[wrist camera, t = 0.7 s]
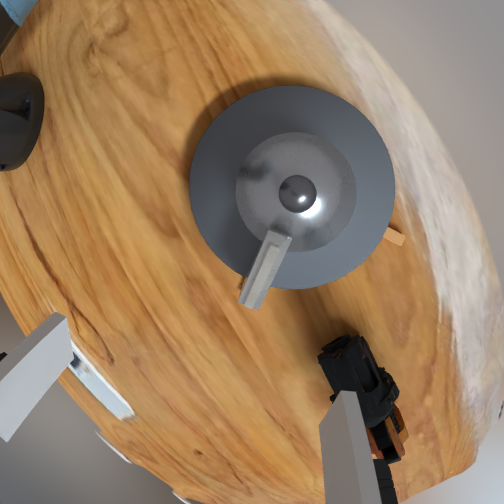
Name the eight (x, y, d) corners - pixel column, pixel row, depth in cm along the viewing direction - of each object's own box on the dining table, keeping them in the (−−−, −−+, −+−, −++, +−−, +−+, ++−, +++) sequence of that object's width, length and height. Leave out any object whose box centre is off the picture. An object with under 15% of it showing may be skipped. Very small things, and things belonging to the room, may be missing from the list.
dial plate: (148, 210, 30) (140, 213, 28) (285, 54, 23) (285, 47, 21) (296, 336, 33) (297, 346, 31) (432, 205, 26) (441, 208, 25)
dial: (264, 119, 24) (261, 110, 20) (364, 164, 24) (380, 164, 20) (206, 268, 29) (194, 285, 24) (297, 304, 29) (299, 327, 25)
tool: (359, 306, 39) (373, 329, 24) (408, 420, 35) (430, 474, 21) (310, 331, 41) (298, 366, 26) (365, 440, 37) (370, 499, 22)
